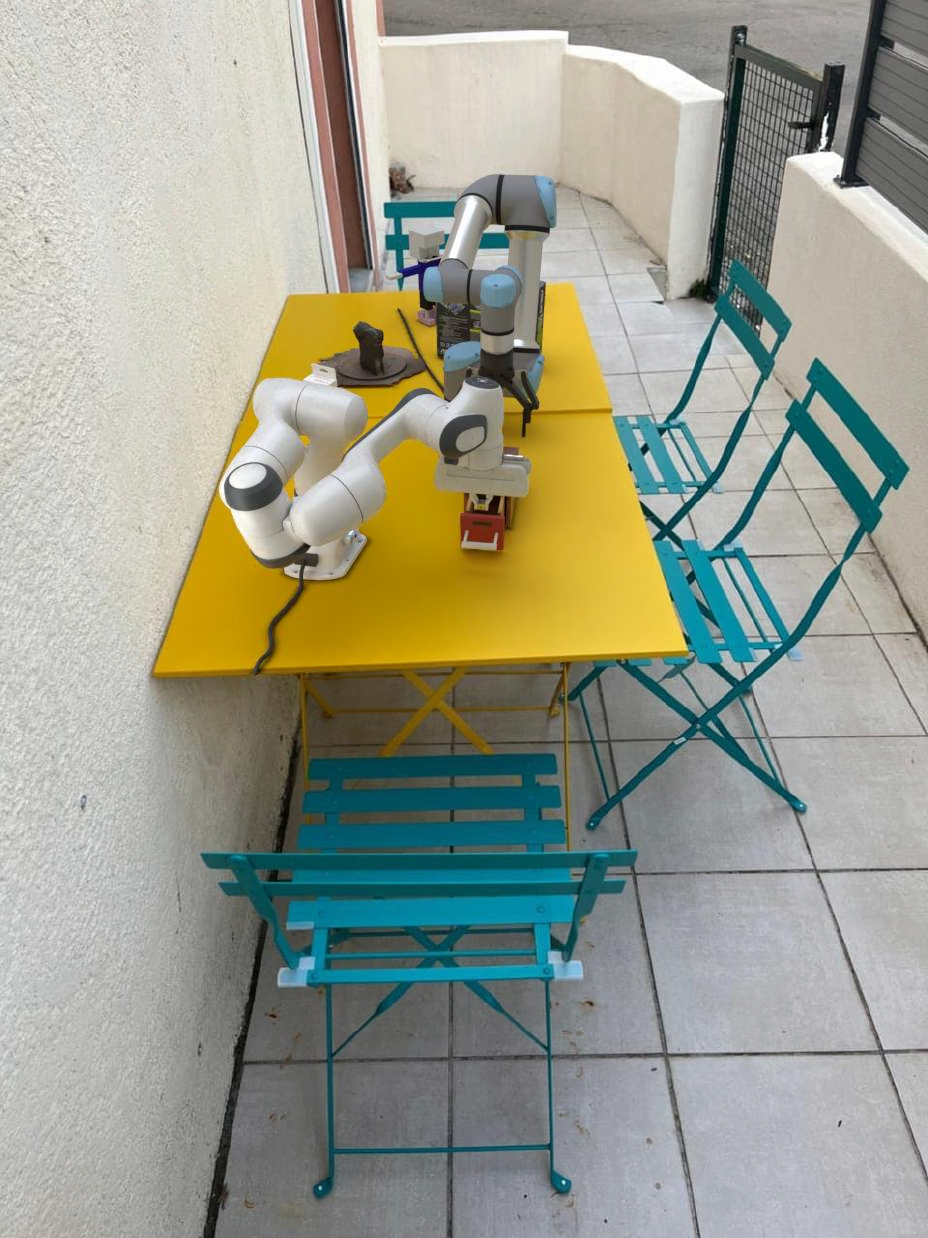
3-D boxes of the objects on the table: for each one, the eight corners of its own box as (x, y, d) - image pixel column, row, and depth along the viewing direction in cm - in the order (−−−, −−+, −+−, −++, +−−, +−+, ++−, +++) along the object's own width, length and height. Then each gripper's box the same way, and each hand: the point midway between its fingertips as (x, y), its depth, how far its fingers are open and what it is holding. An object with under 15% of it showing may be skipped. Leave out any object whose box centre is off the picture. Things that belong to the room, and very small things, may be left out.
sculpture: (406, 397, 263) (403, 345, 252) (297, 384, 270) (290, 333, 259) (437, 352, 287) (436, 303, 277) (336, 341, 294) (331, 293, 284)
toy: (460, 304, 319) (459, 216, 299) (477, 312, 313) (477, 222, 294) (381, 329, 302) (375, 237, 283) (398, 337, 296) (393, 244, 277)
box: (542, 365, 279) (547, 279, 262) (535, 374, 274) (539, 287, 257) (444, 349, 289) (443, 265, 272) (435, 358, 284) (433, 273, 266)
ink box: (306, 417, 253) (300, 368, 244) (316, 410, 257) (310, 362, 247) (331, 424, 250) (326, 375, 241) (341, 416, 254) (336, 368, 244)
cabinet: (510, 528, 210) (511, 490, 203) (463, 525, 211) (463, 487, 205) (517, 484, 225) (519, 447, 219) (474, 481, 227) (474, 444, 220)
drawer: (500, 566, 197) (501, 534, 192) (456, 563, 198) (456, 531, 193) (511, 505, 216) (512, 474, 211) (471, 502, 217) (470, 472, 212)
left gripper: (533, 448, 184) (530, 504, 193) (437, 441, 187) (438, 497, 196) (530, 463, 179) (527, 520, 188) (431, 456, 182) (433, 512, 191)
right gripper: (553, 343, 200) (548, 428, 214) (444, 338, 203) (446, 422, 216) (551, 357, 194) (546, 443, 208) (439, 352, 197) (441, 437, 211)
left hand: (481, 508), depth 192 cm, fingers closed
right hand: (495, 433), depth 212 cm, fingers open, 13 cm apart
